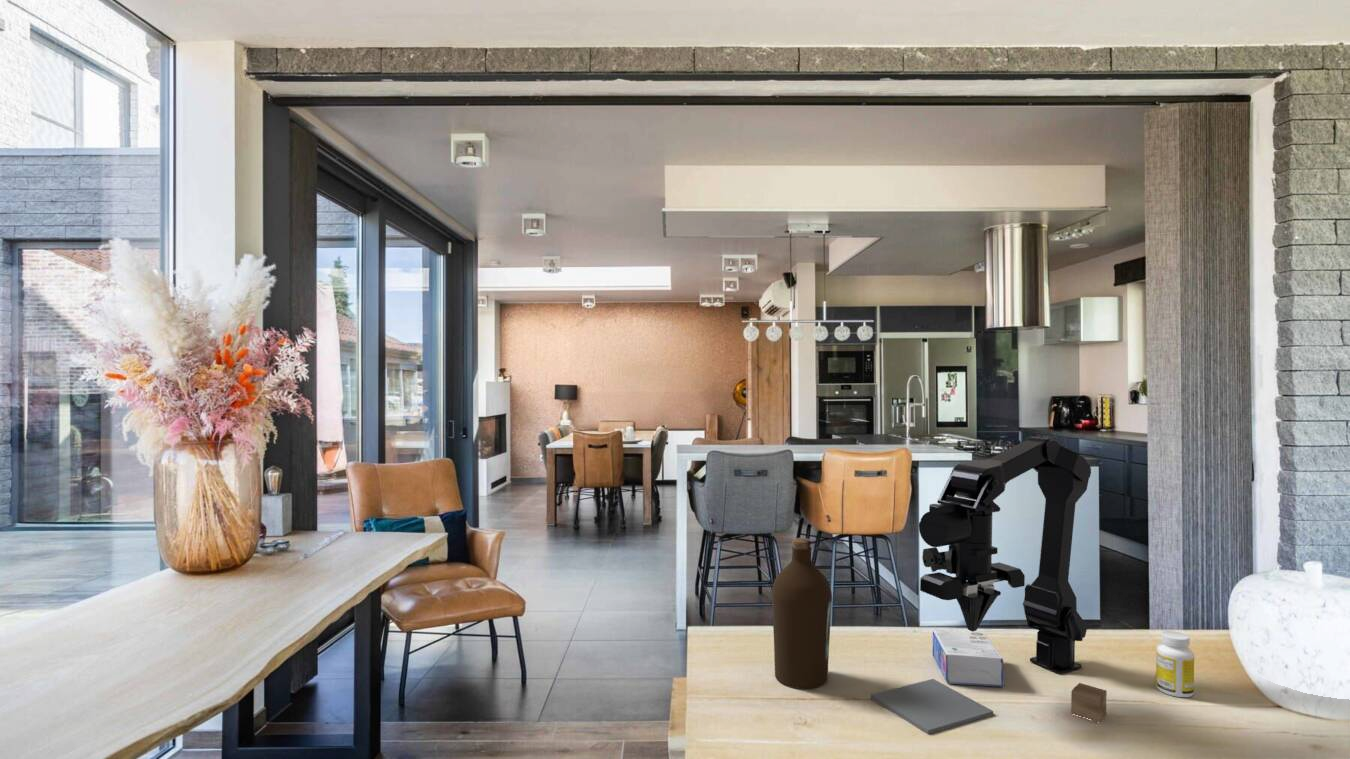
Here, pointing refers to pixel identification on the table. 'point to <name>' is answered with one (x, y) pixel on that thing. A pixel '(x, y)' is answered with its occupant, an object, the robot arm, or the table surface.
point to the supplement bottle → (1175, 665)
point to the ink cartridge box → (967, 658)
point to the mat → (931, 705)
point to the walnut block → (1088, 702)
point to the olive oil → (801, 621)
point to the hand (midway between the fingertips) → (972, 630)
